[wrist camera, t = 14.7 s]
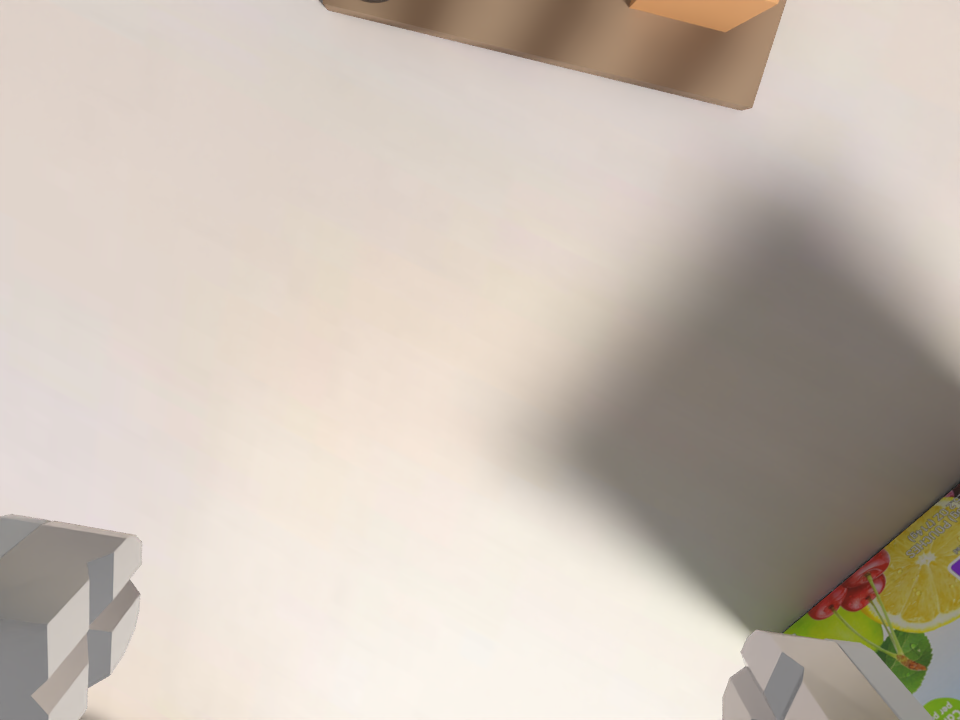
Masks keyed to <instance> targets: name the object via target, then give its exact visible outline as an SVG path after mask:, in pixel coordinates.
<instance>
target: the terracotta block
mask: <svg viewBox="0 0 960 720" xmlns="http://www.w3.org/2000/svg"><path fill="white" fill-rule="evenodd" d="M778 3H779V0H631V2H630V6H629V8H632V9H636V10H640V11H644V12H648V13H652V14H655V15H659V16H663V17H667V18H671V19H675V20H679V21H683V22H687V23H691V24H695V25H698V26H702V27H706V28H710V29H714V30H718V31H722V32H727V31H729V30H731V29H733V28H734V27H736V26H738V25H740V24H742V23H744V22H746V21H747V20H749V19H751V18H753V17H755V16H757V15H759V14H760V13H762V12H764V11H766V10H768V9H770V8H772V7H773V6H775V5H777V4H778Z"/></svg>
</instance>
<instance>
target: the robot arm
mask: <svg viewBox="0 0 960 720" xmlns="http://www.w3.org/2000/svg"><path fill="white" fill-rule="evenodd" d="M141 564H142V541H141V540H140V539H139V538H138V537H137V536H136V535H133V534H127V533H122V532H116V531H110V530H104V529H99V528H93V527H87V526H81V525H76V524H70V523H64V522H58V521H49V520H45V519H38V518H32V517H26V516H20V515H14V514H10V515H5V516H0V720H79V719H80V718H81V717H82V715H83V714H84V712H85V711H86V709H87V702H88V688H89V687H91V686H92V685H94V684H96V683H98V682H99V681H101V680H103V679H105V678H106V677H108V676H110V675H111V673H112V672H113V670H114V669H115V667H116V666H117V664H118V663H119V661H120V660H121V658H122V657H123V655H124V653H125V651H126V649H127V647H128V644H129V642H130V640H131V637H132V635H133V633H134V631H135V627H136V623H137V618H138V614H139V607H140V593H139V591H138V590H137V589H136V587H135V586H134V584H133V583H132V582H131V580H130V578H131V577H132V576H133V574H134V573H135V572H136V571H137V569H138V568H139V567H140V566H141ZM741 655H742V658H743V660H744V663H745V667H744V668H743V669H741V670H740V671H739V672H737V673H736V674H734V675H733V676H732V677H730V679H729V681H728V684H727V687H726V690H725V692H724V695H723V715H722V720H934V719H933V717H932V716H931V715H930V714H929V713H928V712H927V711H926V709H925V708H924V707H923V706H922V705H921V704H920V703H919V702H918V700H917V699H916V698H915V697H914V696H913V695H912V694H911V692H910V691H909V690H908V689H907V688H906V687H905V686H904V685H903V683H902V682H901V681H900V680H899V679H898V678H897V677H896V675H895V674H894V673H893V672H892V671H891V670H890V669H889V668H888V666H887V665H886V664H885V663H884V662H883V661H882V660H881V658H880V657H879V656H878V655H877V654H876V653H875V652H874V651H873V650H872V649H870V648H868V647H867V646H865V645H863V644H862V643H858V642H850V641H842V640H834V639H817V638H811V637H804V636H797V635H790V634H783V633H776V632H769V631H763V630H755V631H754V632H753V633H752V634H750V635H749V636H748V637H747V639H746V641H745V643H744V646H743V648H742V650H741Z"/></svg>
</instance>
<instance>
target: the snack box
mask: <svg viewBox="0 0 960 720" xmlns="http://www.w3.org/2000/svg"><path fill="white" fill-rule="evenodd" d="M783 634H790V635H797V636H804V637H811V638H817V639H834V640H842V641H850V642H858V643H862V644H863V645H865V646H867V647H868V648H870V649H872V650H873V651H874V652H875V653H876V654H877V655H878V656H879V657H880V658H881V660H882V661H883V662H884V663H885V664H886V665H887V666H888V668H889V669H890V670H891V671H892V672H893V673H894V674H895V675H896V677H897V678H898V679H899V680H900V681H901V682H902V683H903V685H904V686H905V687H906V688H907V689H908V690H909V691H910V692H911V694H912V695H913V696H914V697H915V698H916V699H917V700H918V702H919V703H920V704H921V705H922V706H923V707H924V708H925V709H926V711H927V712H928V713H929V714H930V715H931V716H932V717H933V719H934V720H960V484H959V485H957V486H956V487H955V488H954V489H953V490H951V491H950V492H949V493H948V494H947V495H946V496H944V497H943V498H942V499H941V500H940V501H939V502H937V503H936V504H935V505H934V506H933V507H932V508H930V509H929V510H928V511H927V512H926V513H924V514H923V515H922V516H921V517H920V518H918V519H917V520H916V521H915V522H914V523H913V524H911V525H910V526H909V527H908V528H907V529H906V530H904V531H903V532H902V533H901V534H900V535H898V536H897V537H896V538H895V539H894V540H893V541H891V542H890V543H889V544H888V545H887V546H886V547H884V548H883V549H882V550H881V551H880V552H879V553H877V554H876V555H875V556H874V557H873V558H871V559H870V560H869V561H868V562H867V563H865V564H864V565H863V566H862V567H861V568H859V569H858V570H857V571H856V572H855V573H854V574H852V575H851V576H850V577H849V578H848V579H846V580H845V581H844V582H843V583H842V584H840V585H839V586H838V587H837V588H836V589H835V590H833V591H832V592H831V593H830V594H829V595H827V596H826V597H825V598H824V599H823V600H822V601H820V602H819V603H818V604H817V605H816V606H814V607H813V608H812V609H811V610H810V611H809V612H807V613H806V614H805V615H804V616H803V617H801V618H800V619H799V620H798V621H797V622H795V623H794V624H793V625H792V626H791V627H789V628H788V629H787V630H786V631H785V632H783Z"/></svg>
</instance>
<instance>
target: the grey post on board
mask: <svg viewBox="0 0 960 720" xmlns="http://www.w3.org/2000/svg"><path fill="white" fill-rule="evenodd" d="M630 2H631V0H323V5H324V6H325V7H326V8H327V10H329V11H333V12H337V13H342V14H346V15H350V16H354V17H358V18H362V19H366V20H370V21H375V22H379V23H383V24H387V25H391V26H395V27H399V28H403V29H407V30H412V31H416V32H420V33H424V34H428V35H432V36H436V37H440V38H445V39H449V40H453V41H457V42H461V43H465V44H469V45H473V46H478V47H482V48H486V49H490V50H494V51H498V52H502V53H506V54H510V55H515V56H519V57H523V58H527V59H531V60H535V61H539V62H543V63H548V64H552V65H556V66H560V67H564V68H568V69H572V70H576V71H581V72H585V73H589V74H593V75H597V76H601V77H605V78H609V79H613V80H618V81H622V82H626V83H630V84H634V85H638V86H642V87H646V88H651V89H655V90H659V91H663V92H667V93H671V94H675V95H679V96H683V97H688V98H692V99H696V100H700V101H704V102H708V103H712V104H716V105H721V106H725V107H729V108H733V109H737V110H746V109H750V108H752V106H753V103H754V100H755V97H756V94H757V91H758V88H759V85H760V82H761V78H762V75H763V72H764V69H765V66H766V63H767V60H768V57H769V53H770V50H771V47H772V44H773V41H774V38H775V35H776V32H777V28H778V25H779V22H780V19H781V16H782V13H783V10H784V7H785V4H786V0H779V3H778V4H777V5H775V6H773V7H772V8H770V9H768V10H766V11H764V12H762V13H760V14H759V15H757V16H755V17H753V18H751V19H749V20H747V21H746V22H744V23H742V24H740V25H738V26H736V27H734V28H733V29H731V30H729V31H727V32H722V31H718V30H714V29H710V28H706V27H702V26H698V25H695V24H691V23H687V22H683V21H679V20H675V19H671V18H667V17H663V16H659V15H655V14H652V13H648V12H644V11H640V10H636V9H632V8H629V6H630Z"/></svg>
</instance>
